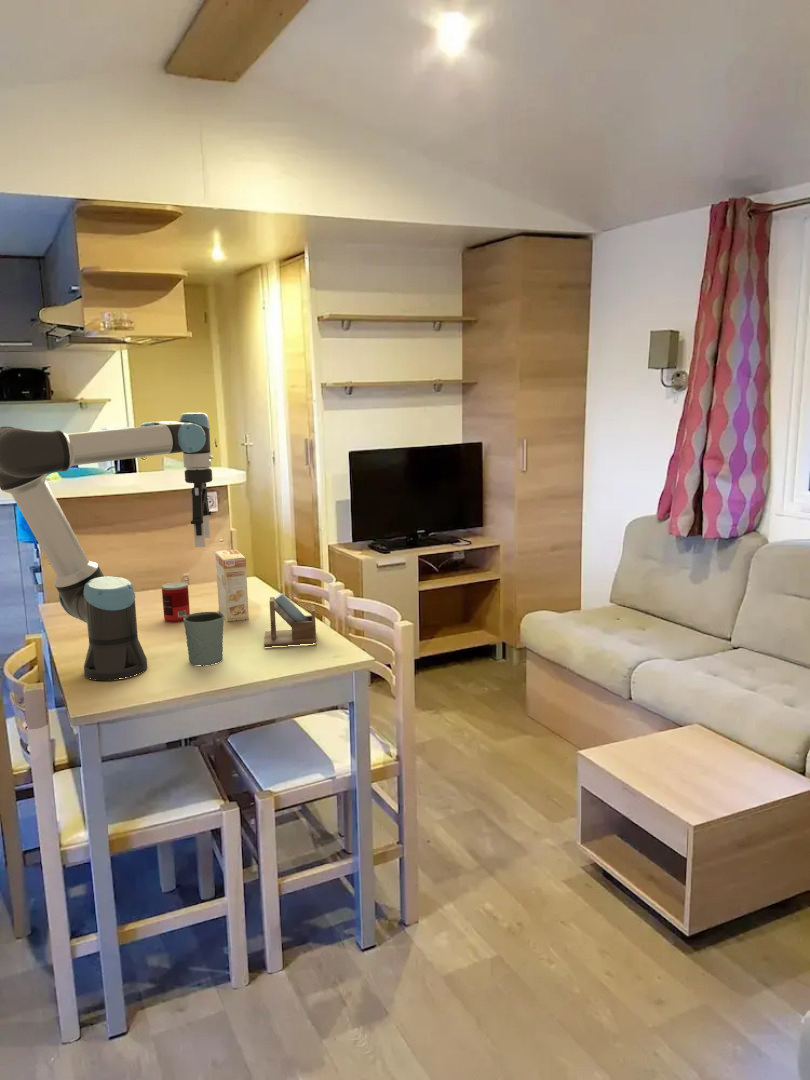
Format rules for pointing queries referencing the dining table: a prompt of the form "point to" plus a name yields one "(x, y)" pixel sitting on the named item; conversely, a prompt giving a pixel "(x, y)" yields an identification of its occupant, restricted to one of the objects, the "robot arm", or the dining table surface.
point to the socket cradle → (296, 636)
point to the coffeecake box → (232, 585)
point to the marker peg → (290, 608)
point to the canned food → (175, 601)
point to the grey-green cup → (204, 637)
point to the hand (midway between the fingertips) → (202, 542)
